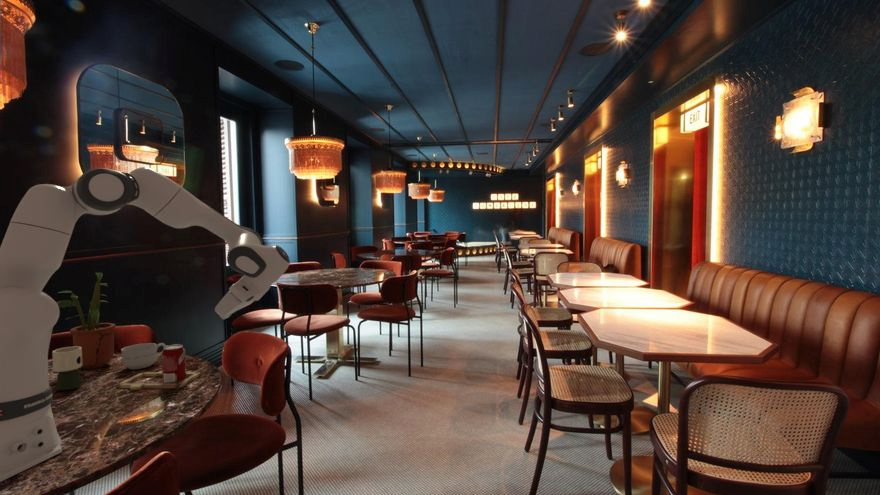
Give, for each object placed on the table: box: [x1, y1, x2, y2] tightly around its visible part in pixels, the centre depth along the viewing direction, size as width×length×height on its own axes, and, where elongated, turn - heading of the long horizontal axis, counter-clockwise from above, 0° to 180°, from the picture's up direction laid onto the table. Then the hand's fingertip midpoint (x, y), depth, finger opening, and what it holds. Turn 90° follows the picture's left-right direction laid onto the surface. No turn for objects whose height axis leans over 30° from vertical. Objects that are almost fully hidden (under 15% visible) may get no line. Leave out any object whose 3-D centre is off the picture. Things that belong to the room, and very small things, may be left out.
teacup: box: [120, 342, 167, 371], centre depth 160 cm, size 14×11×8 cm
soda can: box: [161, 343, 187, 384], centre depth 144 cm, size 7×7×12 cm
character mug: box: [51, 346, 83, 391], centre depth 138 cm, size 11×7×13 cm, turn 39°
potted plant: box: [56, 272, 116, 370], centre depth 156 cm, size 17×16×35 cm
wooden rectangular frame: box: [115, 369, 202, 391], centre depth 144 cm, size 15×21×1 cm
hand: (223, 317), depth 141 cm, fingers closed
